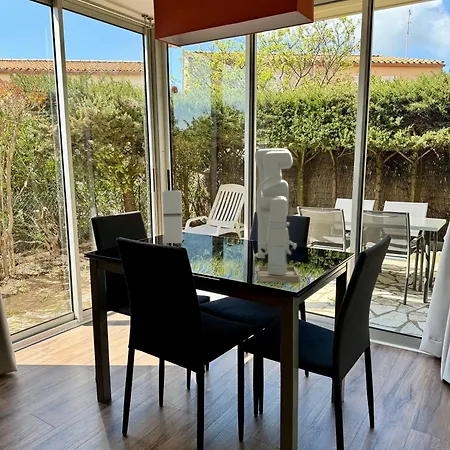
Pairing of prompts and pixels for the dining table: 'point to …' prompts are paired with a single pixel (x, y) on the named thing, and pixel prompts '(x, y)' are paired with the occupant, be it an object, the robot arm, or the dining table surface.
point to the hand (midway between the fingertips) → (277, 262)
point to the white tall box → (172, 217)
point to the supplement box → (277, 260)
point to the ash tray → (287, 277)
